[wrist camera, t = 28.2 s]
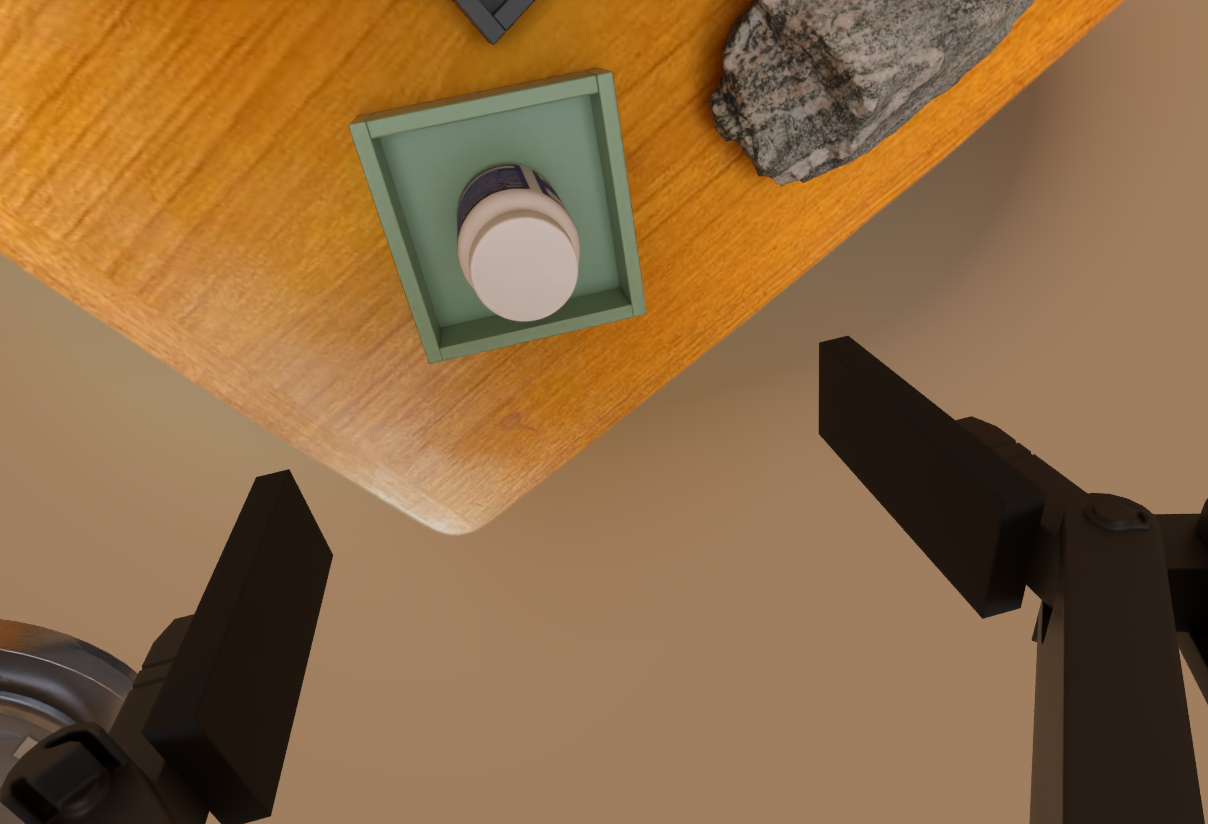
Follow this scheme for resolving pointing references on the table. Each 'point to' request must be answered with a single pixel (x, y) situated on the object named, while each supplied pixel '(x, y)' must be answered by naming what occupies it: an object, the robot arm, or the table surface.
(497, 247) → the pill bottle
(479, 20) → the box bin
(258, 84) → the table surface
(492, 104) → the bottle bin
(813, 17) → the rock
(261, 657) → the robot arm
